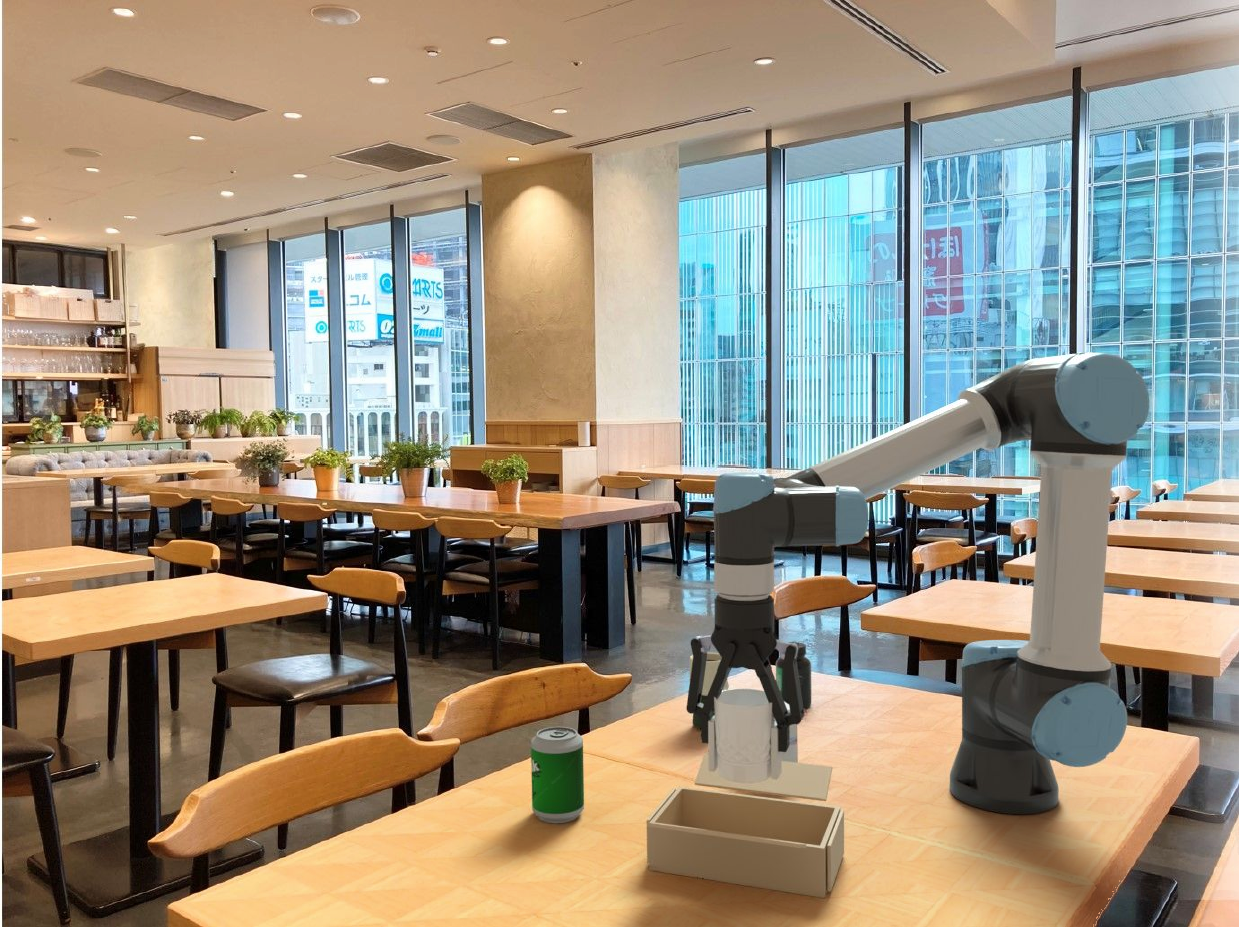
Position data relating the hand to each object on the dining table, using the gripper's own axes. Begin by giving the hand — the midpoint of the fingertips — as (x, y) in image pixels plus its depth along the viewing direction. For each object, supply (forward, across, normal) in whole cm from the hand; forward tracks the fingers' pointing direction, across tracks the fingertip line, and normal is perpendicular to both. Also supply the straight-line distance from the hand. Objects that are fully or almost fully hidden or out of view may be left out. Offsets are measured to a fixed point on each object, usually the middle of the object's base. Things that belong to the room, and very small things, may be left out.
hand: (745, 771), depth 126 cm
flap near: (+6, 0, +7) cm, 9 cm away
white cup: (+1, 0, 0) cm, 1 cm away
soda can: (+12, +29, -6) cm, 32 cm away
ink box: (+12, +3, -31) cm, 33 cm away
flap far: (+6, 0, -7) cm, 9 cm away
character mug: (+12, +19, -51) cm, 55 cm away
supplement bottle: (+12, +7, -69) cm, 70 cm away
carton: (+12, 0, 0) cm, 12 cm away
